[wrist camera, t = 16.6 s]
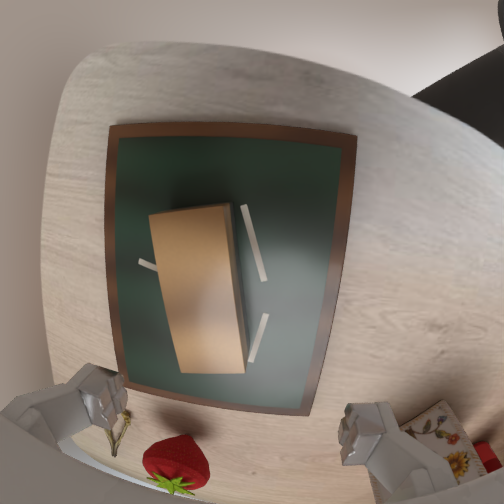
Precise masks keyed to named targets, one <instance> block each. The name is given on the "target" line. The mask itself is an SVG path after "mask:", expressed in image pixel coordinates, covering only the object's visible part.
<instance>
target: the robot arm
mask: <svg viewBox="0 0 504 504" xmlns="http://www.w3.org/2000/svg"><path fill="white" fill-rule="evenodd" d="M124 382H125V381H124V377H123V375H122V374H121V373H119V372H116V371H113V370H109V369H106V368H103V367H100V366H97V365H94V364H91V363H87V364H85V365H84V366H83V367H82V368H81V369H80V370H79V371H78V372H77V373H76V374H75V375H74V376H73V377H72V378H71V379H70V380H69V381H68V382H67V384H63V383H62V384H59V385H55V386H52V387H49V388H45V389H42V390H39V391H35V392H32V393H28V394H24V395H21V396H17V397H16V398H14V400H12V401H11V402H10V403H9V404H8V405H7V406H6V407H5V408H4V409H3V410H2V411H1V412H0V504H215V503H209V502H204V501H199V500H193V499H189V498H185V497H181V496H176V495H173V494H169V493H165V492H161V491H158V490H154V489H151V488H148V487H145V486H141V485H138V484H135V483H132V482H130V481H127V480H124V479H121V478H119V477H116V476H113V475H111V474H108V473H106V472H103V471H101V470H98V469H96V468H94V467H92V466H89V465H87V464H85V463H83V462H81V461H79V460H77V459H75V458H73V457H70V456H68V455H67V454H65V453H63V452H62V451H61V449H60V447H59V446H58V444H57V443H58V442H60V441H62V440H64V439H66V438H68V437H70V436H72V435H74V434H76V433H78V432H80V431H82V430H84V429H86V428H87V427H89V426H91V425H92V424H93V425H96V426H99V427H102V428H104V429H107V430H110V431H111V429H112V428H113V426H114V425H115V423H116V422H117V420H118V418H117V414H119V413H122V412H123V411H124V409H125V407H126V404H127V401H128V395H127V390H126V389H125V388H124V387H123V385H122V384H123V383H124ZM344 412H345V417H344V418H343V419H341V422H340V425H339V430H338V440H339V443H340V444H341V445H342V446H343V447H342V449H341V452H340V453H341V460H342V466H348V465H365V466H366V468H367V469H368V470H369V471H370V472H371V473H372V474H373V475H374V476H375V477H376V478H377V479H378V480H379V482H380V483H381V484H382V485H383V486H384V487H385V488H386V489H387V490H388V491H389V492H390V493H391V494H392V495H391V496H390V498H389V499H388V500H387V501H386V502H385V503H384V504H504V467H502V468H500V469H498V470H496V471H493V472H491V473H489V474H486V475H484V476H482V477H479V478H477V479H474V480H471V481H469V482H466V483H463V484H460V485H458V484H457V481H456V479H455V476H454V474H453V472H452V469H451V467H450V465H449V462H448V461H447V460H445V459H444V458H442V457H441V456H439V455H438V454H436V453H435V452H433V451H432V450H430V449H429V448H427V447H426V446H425V445H423V444H422V443H420V442H419V441H417V440H416V439H414V438H413V437H412V436H410V435H409V434H407V433H406V432H404V431H403V432H401V431H400V429H399V426H398V424H397V421H396V419H395V416H394V414H393V411H392V409H391V406H390V404H389V403H388V402H375V403H348V404H347V406H346V408H345V411H344Z"/></svg>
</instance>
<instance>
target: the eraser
mask: <svg viewBox="0 0 504 504" xmlns="http://www.w3.org/2000/svg"><path fill="white" fill-rule="evenodd" d="M149 222H150V229H151V235H152V242H153V248H154V254H155V259H156V265H157V270H158V276H159V281H160V286H161V291H162V296H163V300H164V305H165V310H166V314H167V319H168V323H169V327H170V331H171V336H172V340H173V344H174V348H175V351H176V355H177V359H178V363H179V367H180V370H181V373H203V374H236V373H246V367H247V361H248V355H249V350H250V340H249V332H248V324H247V316H246V308H245V300H244V292H243V284H242V276H241V268H240V259H239V251H238V242H237V234H236V225H235V216H234V208H233V202H224V203H216V204H207V205H199V206H191V207H184V208H176V209H169V210H166V211H162V212H158V213H154V214H151V215H149Z"/></svg>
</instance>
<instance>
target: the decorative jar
mask: <svg viewBox="0 0 504 504" xmlns="http://www.w3.org/2000/svg"><path fill="white" fill-rule="evenodd" d="M399 429H400V431H401V432H403V431H404V432H406V433H407V434H409V435H410V436H412V437H413V438H414V439H416V440H417V441H419V442H420V443H422V444H423V445H425V446H426V447H427V448H429V449H430V450H432V451H433V452H435V453H436V454H438V455H439V456H441V457H442V458H444V459H445V460H447V461H448V462H449V465H450V467H451V469H452V472H453V474H454V476H455V479H456V481H457V484H458V485H460V484H463V483H466V482H469V481H471V480H474V479H477V478H479V477H482V476H484V475H486V474H488V473H487V472H486V469H485V467H484V466H483V464H482V462H481V460H480V458H479V456H478V454H477V452H476V450H475V449H474V447H473V445H472V443H471V441H470V440H469V438H468V436H467V434H466V432H465V431H464V429H463V427H462V425H461V424H460V422H459V420H458V419H457V417H456V416H455V414H454V412H453V411H452V409H451V408H450V406H449V405H448V403H447V402H446V401H444V400H442V401H440V402H438V403H437V404H435V405H434V406H433V407H431V408H430V409H428V410H426V411H425V412H423V413H422V414H420V415H419V416H417V417H416V418H414V419H413V420H411V421H409V422H407V423H405V424H404V425H402V426H400V427H399ZM368 473H369V477H370V482H371V486H372V490H373V493H374V497H375V501H376V504H384V503H385V502H386V501H387V500H388V499H389V498H390V496H391V495H392V494H391V493H390V492H389V491H388V490H387V489H386V488H385V487H384V486H383V485H382V484H381V483H380V482H379V480H378V479H377V478H376V477H375V476H374V475H373V474H372V473H371V472H370V471H369V470H368Z"/></svg>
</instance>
